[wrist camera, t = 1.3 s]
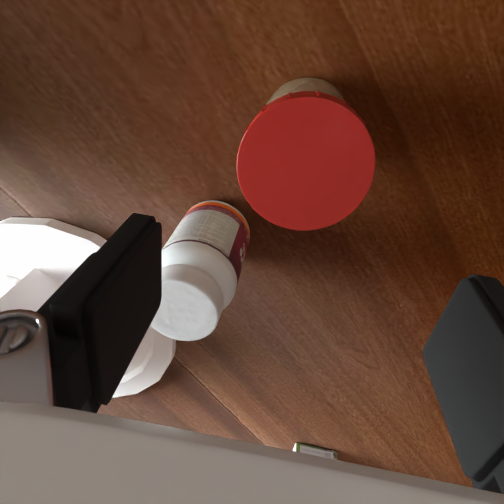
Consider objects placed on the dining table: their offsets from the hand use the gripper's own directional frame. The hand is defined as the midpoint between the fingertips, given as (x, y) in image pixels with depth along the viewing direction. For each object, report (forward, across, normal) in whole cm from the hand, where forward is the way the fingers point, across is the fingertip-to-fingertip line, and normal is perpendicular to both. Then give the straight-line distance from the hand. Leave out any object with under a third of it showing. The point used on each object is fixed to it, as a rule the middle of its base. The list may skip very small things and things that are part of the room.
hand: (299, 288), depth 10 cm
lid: (+10, 0, 0) cm, 10 cm away
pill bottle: (+20, +6, +10) cm, 23 cm away
